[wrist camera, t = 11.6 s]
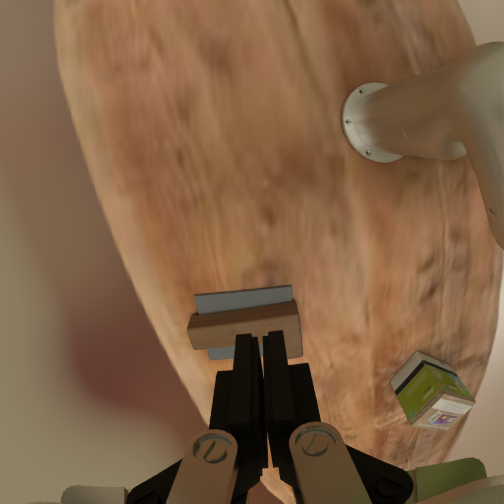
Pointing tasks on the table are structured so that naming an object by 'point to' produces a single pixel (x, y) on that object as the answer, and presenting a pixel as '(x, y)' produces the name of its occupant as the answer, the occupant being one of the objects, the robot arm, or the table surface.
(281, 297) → the mat
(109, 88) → the table surface
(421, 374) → the tea box
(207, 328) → the wooden block
